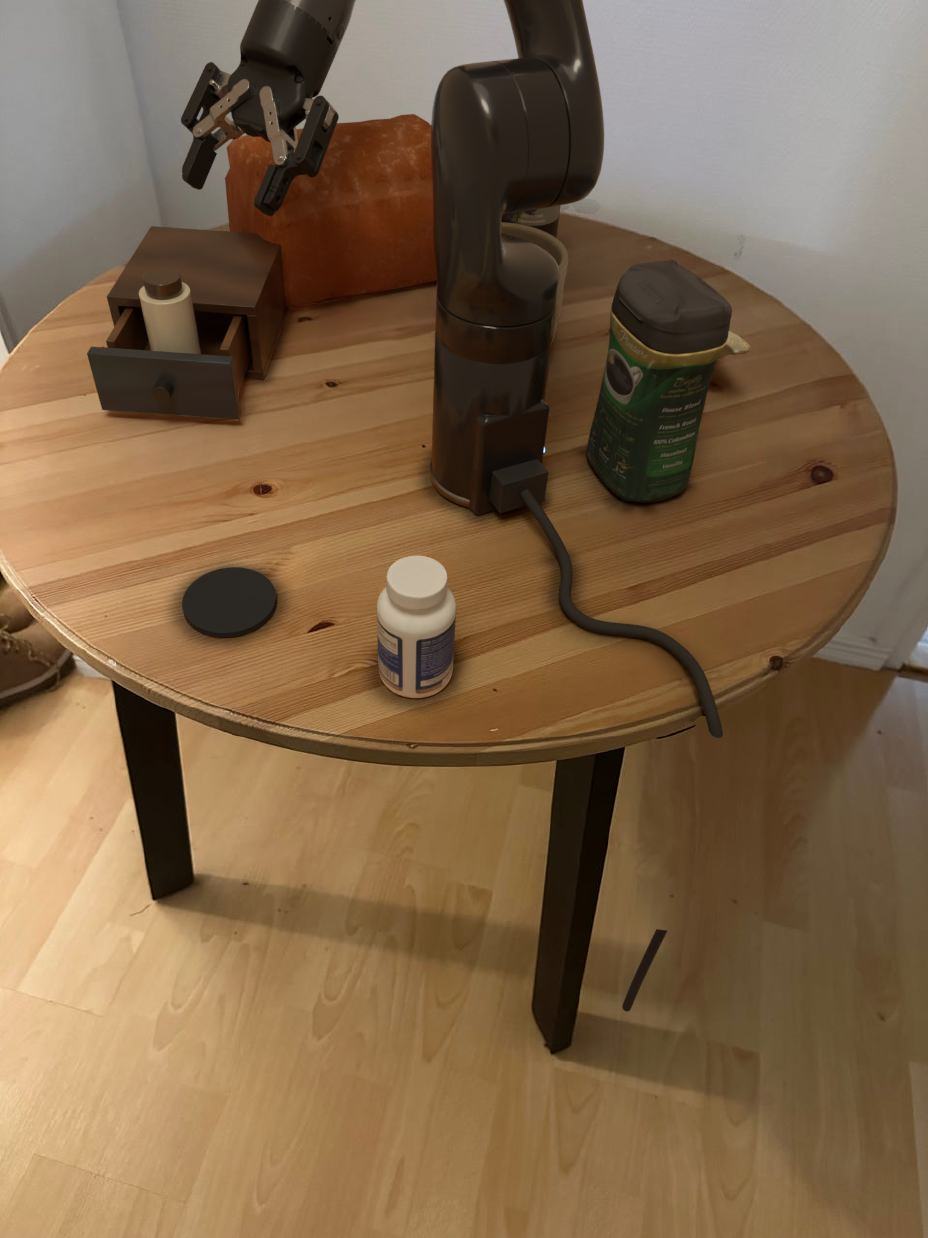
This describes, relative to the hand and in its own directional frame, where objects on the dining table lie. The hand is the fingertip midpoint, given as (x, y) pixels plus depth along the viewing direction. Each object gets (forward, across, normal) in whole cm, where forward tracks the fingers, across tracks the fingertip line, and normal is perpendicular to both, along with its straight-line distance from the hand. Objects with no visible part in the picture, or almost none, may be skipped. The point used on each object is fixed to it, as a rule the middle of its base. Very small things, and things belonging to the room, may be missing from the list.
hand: (226, 197), depth 85 cm
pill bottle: (+28, +38, -6) cm, 48 cm away
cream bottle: (+16, 0, +4) cm, 16 cm away
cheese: (-7, +37, +30) cm, 48 cm away
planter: (0, +20, +23) cm, 30 cm away
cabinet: (+11, -6, +12) cm, 17 cm away
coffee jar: (+7, +40, +16) cm, 44 cm away
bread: (-4, -4, +27) cm, 27 cm away
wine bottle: (-10, +14, +32) cm, 37 cm away
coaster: (+30, +22, -8) cm, 39 cm away
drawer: (+16, -1, +5) cm, 17 cm away
